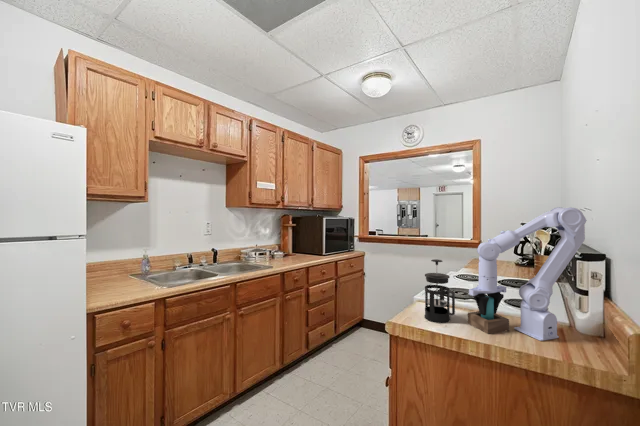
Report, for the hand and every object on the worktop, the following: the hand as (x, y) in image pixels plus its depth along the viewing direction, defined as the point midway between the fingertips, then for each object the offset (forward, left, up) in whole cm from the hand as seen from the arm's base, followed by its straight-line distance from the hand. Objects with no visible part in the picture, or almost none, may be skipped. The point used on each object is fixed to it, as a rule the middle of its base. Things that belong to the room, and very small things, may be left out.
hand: (487, 313), depth 101 cm
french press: (+11, +12, -5) cm, 17 cm away
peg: (0, 0, -2) cm, 2 cm away
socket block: (0, 0, -5) cm, 5 cm away
